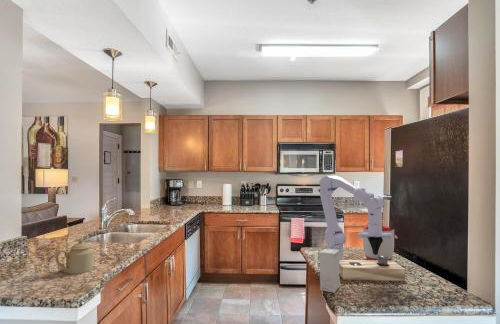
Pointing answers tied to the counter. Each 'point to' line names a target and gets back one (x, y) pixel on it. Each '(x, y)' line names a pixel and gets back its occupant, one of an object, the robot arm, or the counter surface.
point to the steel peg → (382, 260)
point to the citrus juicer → (385, 246)
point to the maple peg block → (371, 270)
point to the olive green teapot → (77, 258)
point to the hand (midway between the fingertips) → (375, 254)
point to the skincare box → (329, 270)
